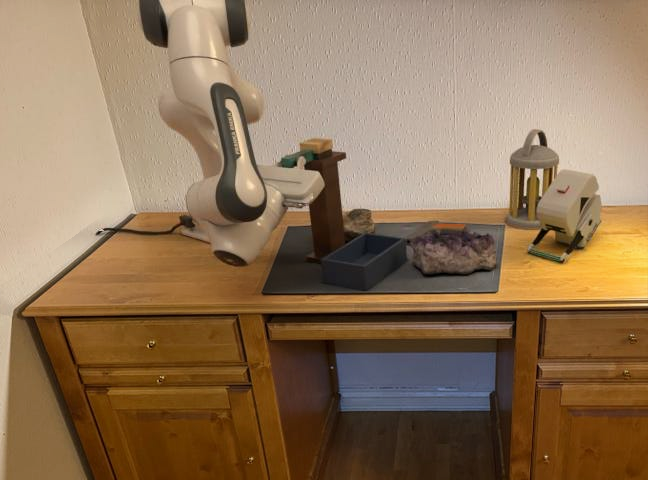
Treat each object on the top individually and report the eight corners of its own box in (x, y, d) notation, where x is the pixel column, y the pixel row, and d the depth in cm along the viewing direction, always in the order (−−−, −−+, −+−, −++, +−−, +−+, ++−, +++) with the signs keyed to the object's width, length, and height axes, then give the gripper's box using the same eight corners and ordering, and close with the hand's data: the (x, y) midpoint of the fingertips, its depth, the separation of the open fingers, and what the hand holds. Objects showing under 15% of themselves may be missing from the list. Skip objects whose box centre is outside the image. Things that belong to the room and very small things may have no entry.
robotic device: (538, 274, 171) (514, 225, 156) (578, 212, 176) (559, 158, 161) (572, 285, 165) (551, 234, 150) (613, 220, 170) (597, 165, 154)
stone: (371, 236, 168) (345, 205, 167) (345, 260, 173) (320, 230, 171) (389, 224, 180) (365, 195, 178) (365, 247, 184) (341, 219, 183)
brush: (295, 169, 142) (293, 153, 140) (276, 167, 144) (274, 151, 142) (333, 154, 154) (332, 139, 152) (316, 152, 156) (314, 137, 154)
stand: (306, 261, 163) (293, 159, 151) (328, 247, 171) (317, 149, 159) (333, 265, 160) (322, 162, 148) (354, 252, 168) (345, 152, 156)
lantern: (521, 210, 194) (525, 122, 182) (565, 218, 187) (572, 127, 175) (496, 223, 185) (499, 131, 172) (541, 232, 177) (547, 137, 165)
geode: (490, 256, 164) (494, 219, 157) (499, 279, 154) (503, 241, 148) (409, 258, 161) (409, 220, 155) (413, 282, 152) (414, 243, 146)
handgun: (447, 249, 168) (405, 244, 172) (468, 230, 181) (428, 225, 185) (447, 243, 167) (404, 238, 171) (468, 223, 180) (427, 219, 184)
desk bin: (323, 282, 151) (320, 259, 148) (366, 254, 167) (365, 232, 164) (366, 290, 147) (364, 266, 144) (407, 260, 162) (406, 238, 159)
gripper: (300, 197, 133) (329, 150, 139) (222, 187, 141) (252, 143, 147) (312, 219, 138) (340, 172, 144) (236, 208, 146) (265, 164, 152)
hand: (295, 157), depth 145 cm, fingers closed on brush, 2 cm apart
